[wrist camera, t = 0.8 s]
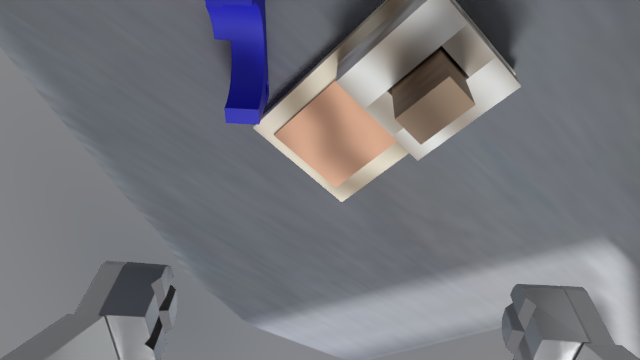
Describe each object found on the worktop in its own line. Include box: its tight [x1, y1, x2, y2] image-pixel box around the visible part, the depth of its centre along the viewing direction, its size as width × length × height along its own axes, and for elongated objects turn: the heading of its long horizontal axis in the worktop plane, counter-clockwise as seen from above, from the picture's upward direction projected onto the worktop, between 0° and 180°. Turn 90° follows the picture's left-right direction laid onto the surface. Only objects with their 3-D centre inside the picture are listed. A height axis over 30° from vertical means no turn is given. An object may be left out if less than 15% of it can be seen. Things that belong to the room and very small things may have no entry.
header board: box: [253, 0, 521, 202], centre depth 47 cm, size 22×13×5 cm, turn 135°
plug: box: [391, 45, 476, 145], centre depth 42 cm, size 5×3×9 cm, turn 135°
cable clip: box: [205, 0, 269, 125], centre depth 44 cm, size 12×4×6 cm, turn 179°
